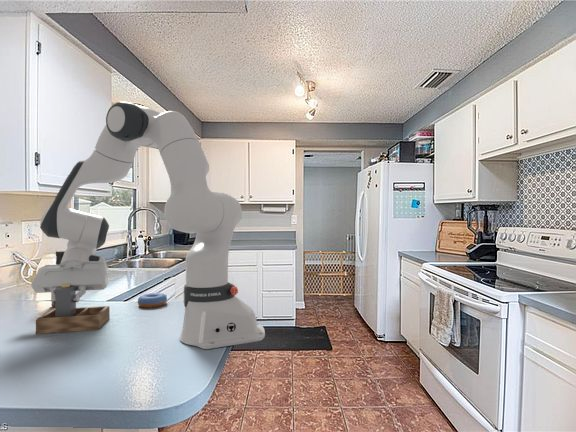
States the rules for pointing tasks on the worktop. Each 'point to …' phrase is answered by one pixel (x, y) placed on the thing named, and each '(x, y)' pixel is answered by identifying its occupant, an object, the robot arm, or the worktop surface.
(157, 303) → the doughnut
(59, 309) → the push button
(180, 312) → the worktop surface
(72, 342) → the worktop surface
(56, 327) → the caddy
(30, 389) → the worktop surface
